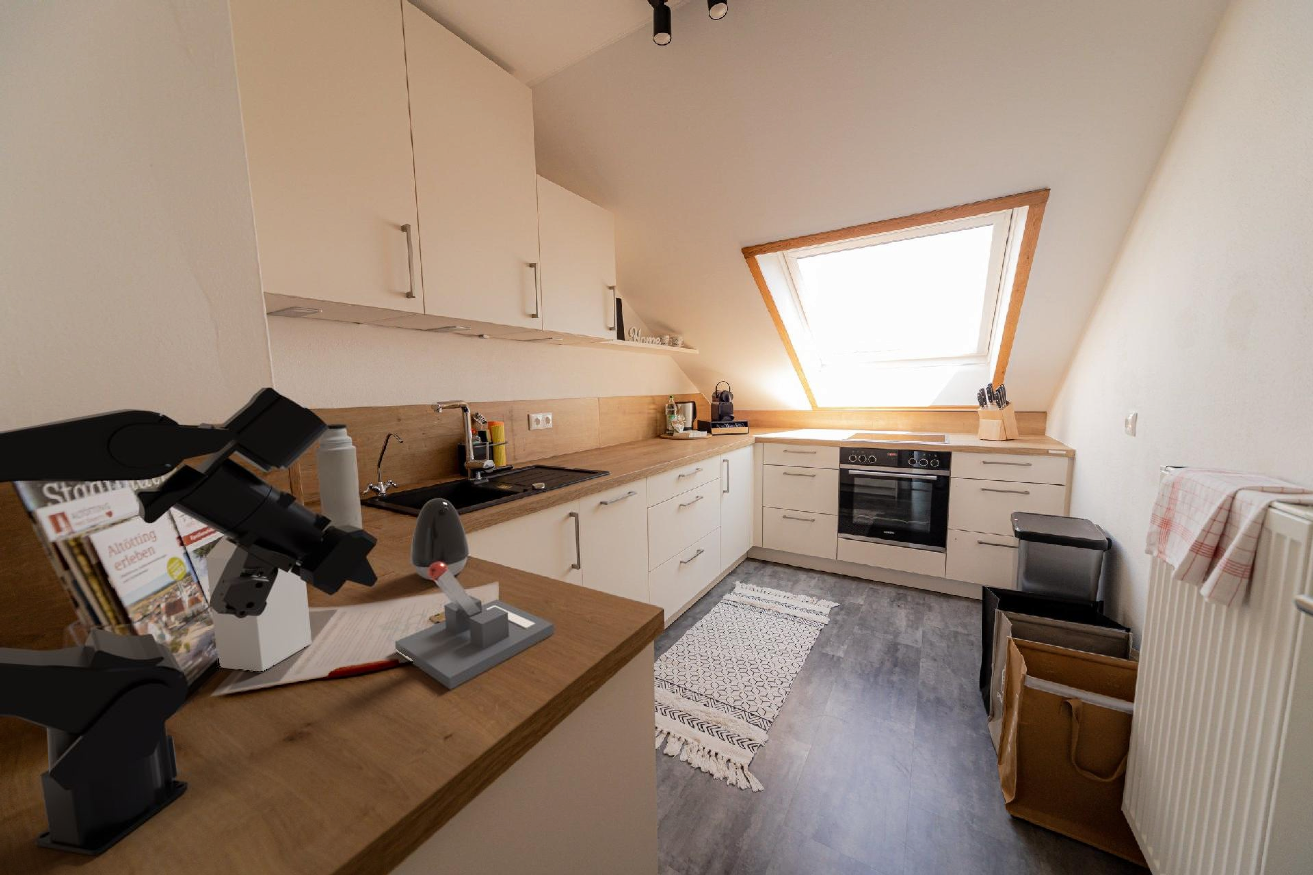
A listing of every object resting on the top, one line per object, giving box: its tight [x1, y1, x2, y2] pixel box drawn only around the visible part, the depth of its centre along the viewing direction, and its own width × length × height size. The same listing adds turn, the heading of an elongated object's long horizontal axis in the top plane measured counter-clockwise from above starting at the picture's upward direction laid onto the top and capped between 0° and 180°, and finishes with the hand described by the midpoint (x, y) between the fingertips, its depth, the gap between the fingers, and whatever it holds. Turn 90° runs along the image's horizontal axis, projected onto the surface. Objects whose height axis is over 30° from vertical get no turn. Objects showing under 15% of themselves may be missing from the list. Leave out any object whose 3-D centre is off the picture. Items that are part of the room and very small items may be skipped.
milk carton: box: [205, 534, 313, 672], centre depth 64 cm, size 7×7×19 cm
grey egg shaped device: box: [410, 497, 470, 581], centre depth 91 cm, size 10×10×15 cm
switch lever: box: [428, 562, 482, 622], centre depth 64 cm, size 2×3×11 cm
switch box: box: [394, 595, 555, 691], centre depth 67 cm, size 16×14×5 cm
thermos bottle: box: [315, 423, 363, 531], centre depth 115 cm, size 8×8×28 cm
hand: (373, 582), depth 56 cm, fingers closed
